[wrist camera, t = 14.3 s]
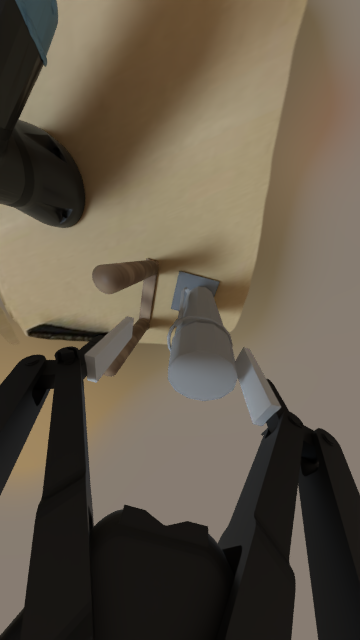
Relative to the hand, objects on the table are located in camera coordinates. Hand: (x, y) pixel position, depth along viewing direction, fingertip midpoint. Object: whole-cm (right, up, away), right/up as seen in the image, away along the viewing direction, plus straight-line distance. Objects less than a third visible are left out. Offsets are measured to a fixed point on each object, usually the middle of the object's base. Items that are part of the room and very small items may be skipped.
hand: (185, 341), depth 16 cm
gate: (-10, +9, +22) cm, 25 cm away
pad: (+3, +9, +20) cm, 22 cm away
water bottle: (+4, +9, +19) cm, 21 cm away
